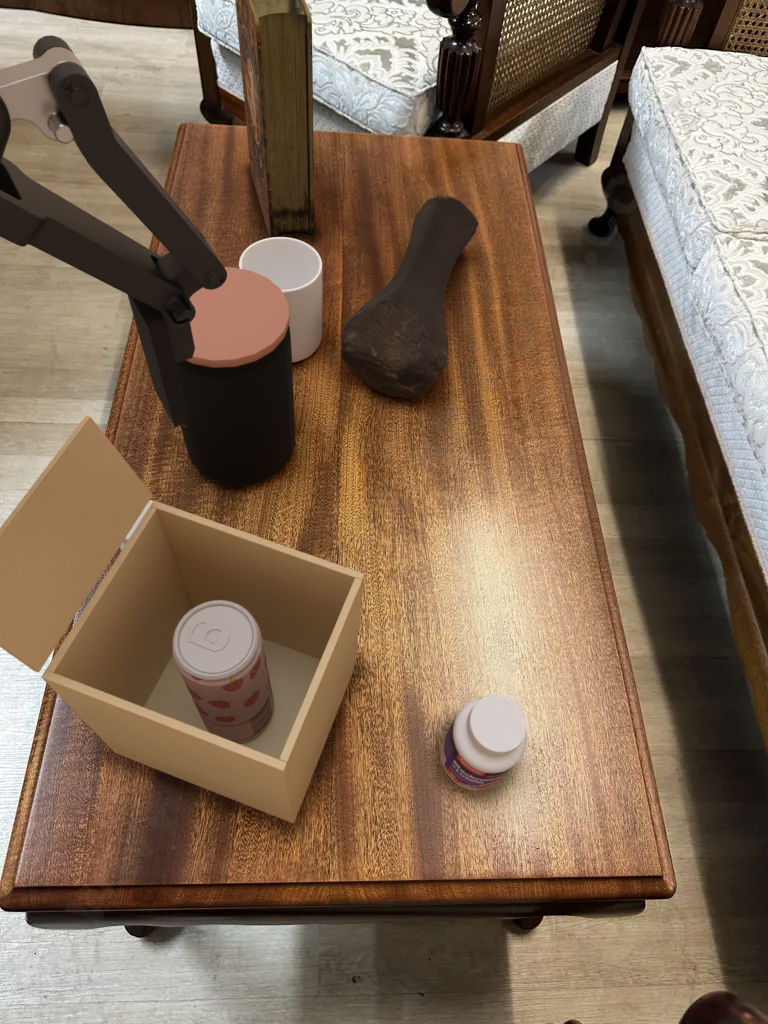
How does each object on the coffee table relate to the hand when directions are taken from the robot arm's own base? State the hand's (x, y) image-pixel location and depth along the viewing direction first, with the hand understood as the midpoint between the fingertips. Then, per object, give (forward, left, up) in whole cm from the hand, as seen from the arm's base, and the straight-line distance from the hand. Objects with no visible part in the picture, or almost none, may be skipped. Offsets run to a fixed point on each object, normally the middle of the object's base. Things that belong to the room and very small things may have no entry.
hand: (32, 456), depth 33 cm
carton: (+7, 0, -31) cm, 31 cm away
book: (-16, +62, -31) cm, 71 cm away
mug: (-8, +39, -31) cm, 50 cm away
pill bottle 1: (-5, +9, -31) cm, 32 cm away
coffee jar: (-4, +24, -31) cm, 39 cm away
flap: (-1, 0, -9) cm, 9 cm away
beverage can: (+7, 0, -30) cm, 31 cm away
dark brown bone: (+6, +49, -31) cm, 58 cm away
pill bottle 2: (+26, +3, -31) cm, 41 cm away
